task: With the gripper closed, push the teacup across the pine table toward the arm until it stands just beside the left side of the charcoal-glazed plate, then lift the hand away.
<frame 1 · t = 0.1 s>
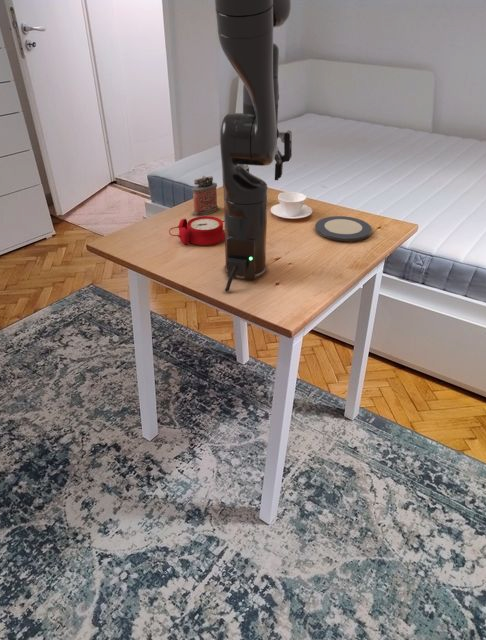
hand: (259, 177, 112), 17 cm above the table, tool pointing down, fingers open, 8 cm apart
plate: (342, 231, 130), on the table
teacup: (291, 215, 139), on the table
alarm clock: (199, 238, 126), on the table
lighter: (205, 212, 141), on the table
beverage can: (239, 205, 145), on the table
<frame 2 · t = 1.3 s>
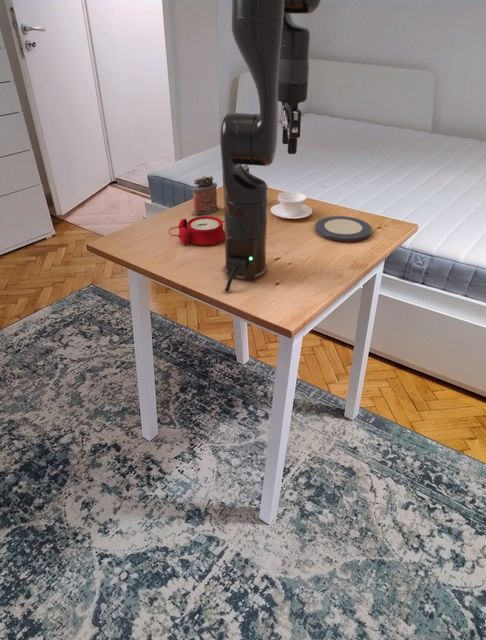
hand: (289, 148, 127), 19 cm above the table, tool pointing down, fingers open, 8 cm apart
nothing on the table moved.
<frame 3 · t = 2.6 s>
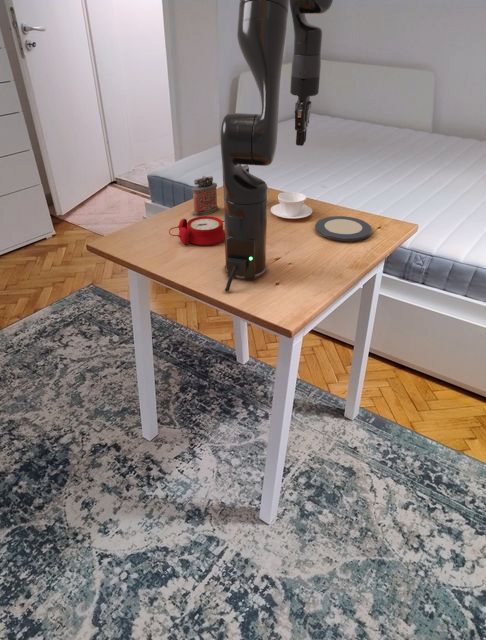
hand: (300, 143, 136), 17 cm above the table, tool pointing down, fingers open, 3 cm apart
nothing on the table moved.
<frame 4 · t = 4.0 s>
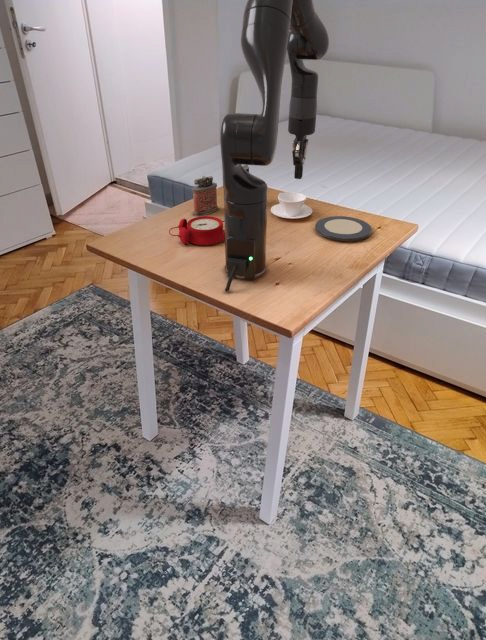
hand: (298, 178, 142), 7 cm above the table, tool pointing down, fingers closed
nothing on the table moved.
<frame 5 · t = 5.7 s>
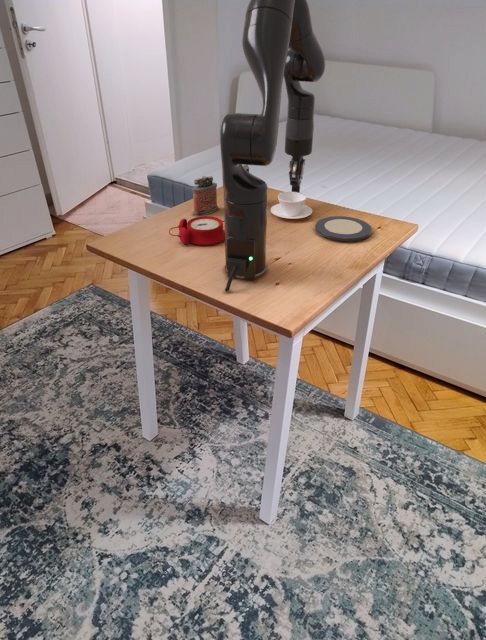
hand: (295, 197, 142), 3 cm above the table, tool pointing down, fingers closed
teacup: (291, 215, 139), on the table, touching gripper
everything else where it was.
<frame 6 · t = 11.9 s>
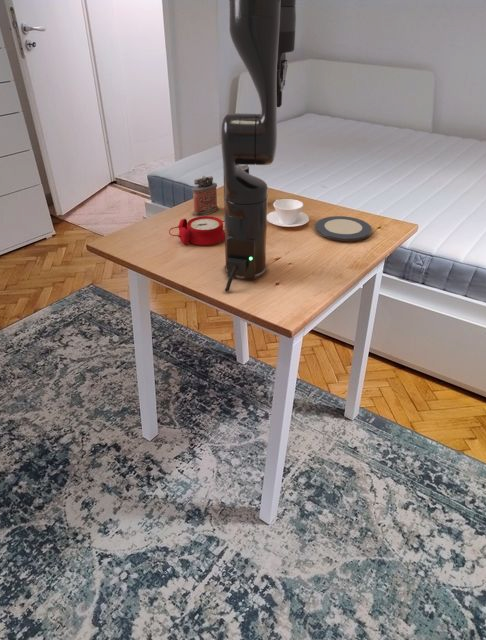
hand: (277, 106, 129), 27 cm above the table, tool pointing down, fingers closed
teacup: (287, 223, 135), on the table
everything else where it was.
at the end: teacup inside the target area (1.9 cm from its centre), on the table; teacup tilted 0° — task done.
